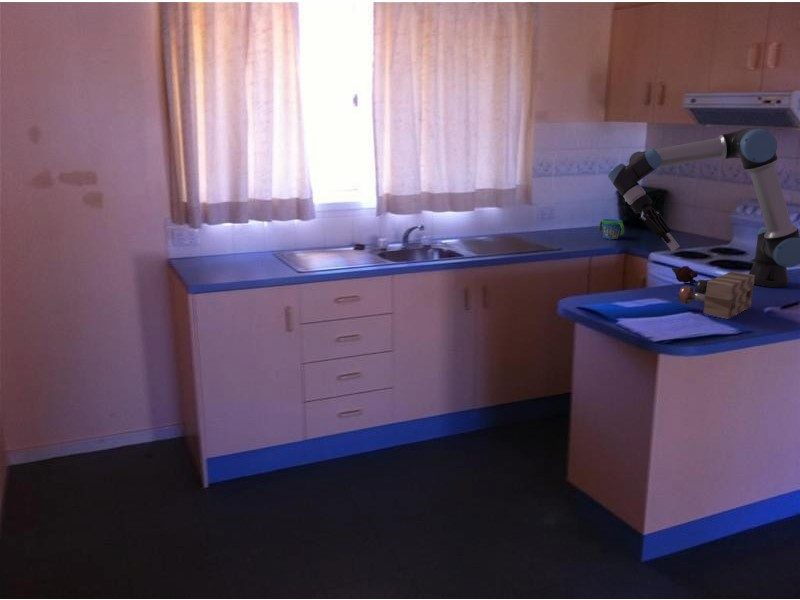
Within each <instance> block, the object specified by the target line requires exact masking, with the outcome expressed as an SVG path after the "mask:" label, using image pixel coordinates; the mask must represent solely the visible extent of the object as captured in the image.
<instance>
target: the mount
mask: <svg viewBox="0 0 800 600" xmlns="http://www.w3.org/2000/svg"><path fill="white" fill-rule="evenodd" d="M754 279H755V275H751V274H749V273H743V272H736V271H729V272H727V273H725V274H722V275H720V276H717V277H715V278H712V279H710V280H706V281H707V288H706V296H705V303H704V305H703V311H702V312H703V313H706V314H709V315H713V316H717V317H721V318H726V319H728V318H730V317H732V316H734V315H736V316H737V314H738V313H740V314H742V313H743V312H742V311H744V310H746V309H747V310H749V309H751V308H752V307H751V305H752V300H753V291H754V286H755V285H754ZM750 307H751V308H750ZM748 308H749V309H748ZM747 310H746V311H747ZM741 312H742V313H741ZM744 312H745V311H744ZM703 313H702V314H703ZM738 315H739V314H738ZM734 317H735V316H734ZM732 318H733V317H732ZM730 319H731V318H730Z"/></svg>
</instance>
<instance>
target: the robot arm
mask: <svg viewBox="0 0 800 600" xmlns="http://www.w3.org/2000/svg"><path fill="white" fill-rule="evenodd" d="M777 150H778V142H777V139H776V136H775V135H774V134H773V133H772V132H770V131H768V130H767V129H764V128H750V127H747V128H746V127H745V128H742V129H738V130H736V131H732V132H728V133H723V134H720V135H719V136H718V137H716V138H711V139H706V140H704V139H703V140H699V141H694V142H688V143H683V144H678V145H672V146H666V147H661V148H656V149H655V148H650V149H648V150H645V151H640V150H639V151H636V152H635V151H634V152H633V153H632V154H631V155H630V156H629V158H628V164H627V165H625V164H624V163H619V164H617V165H615V166H614V167H612V169H610V170H609V172H608V174H607V177H608V179H609V180H610V182H611V183H612V185H613V186H614V187H615V189H616V190H617V191H618V192H619V194H620V195H621V196H622V198H624V202H625V203H627V204H628V205H629V206H630V208H631V210H632V211H633V212H634V213H635V214H640V217H639V220H640V221H642V222H643V223H644V224H645V225H646V226H647V227H648V228H649V230H650V231H651V232H652V233H653V234H654V235H655V236H656V237H657V238H658V239H659V240H660V239H662V240H663V241H664V243H665V244H666V245H667V247H668V248H669V249H670V250H671V252H675V251H676V250H677V249H679V248H680V247H681V246H680V244H679V243H678V241H676V239H675V238H674V237H673V236H672V234H671V232H672V230H671V228H670V227H669V225H668V224H667V222H666V220H665V219H664V217H663V216H662V213H661V211H660V210H657V211H656V209H655V208H654V207H652V204H653V200H652V198H651V197H650V196H649V195H648V194H646V191H645V189H644V188H643V187H642V186H641V185H640V184H639V182H640V181H641V180H642V179H644V178H645V177H647V176H648V175H650V174H651V173H653V172H654V171H656V170H658V169H660V168H661V169H662V168H666V167H672V166H679V165H683V164H689V163H697V162H701V161H707V160H712V159H718V158H720V159H722V160H726V159H727V160H728V159H740V161H741V164H742V167H743V170H744V171H745V172H748V173H749V175H750V177H751V182H752V184H753V188H754V191H755V195H756V197H757V202H758V205H759V209H760V211H761V214H762V218H763V221H764V222H763V223H764V225H765V226H761V227H760V228H759V230H758V232H757V233H758V234H757V237H756V238H757V239H756V240H757V241H756V248H755V252H754V254H755V255H754V262H753V264H752V266H751V269H750V270H749V273H748V274H751V275H755V279H754V284H756V285H755V286H758V285H761V286H760V287H764V286H767V287H766V288H786V287H788V286H789V282H790V281H789V280H790V278H789V273H788V269H787V268H792V267H793V268H794V267H796V266H799V265H800V231H799V228H798V226H797V225H795V224H793V223H792V220H791V217H790V214H789V210H788V206H787V203H786V200H785V195H784V193H783V190H782V186H781V185H782V184H781V182H780V179H779V176H778V172H777V168H776V163H777V162H778V159H779V158H778V155H777Z"/></svg>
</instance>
